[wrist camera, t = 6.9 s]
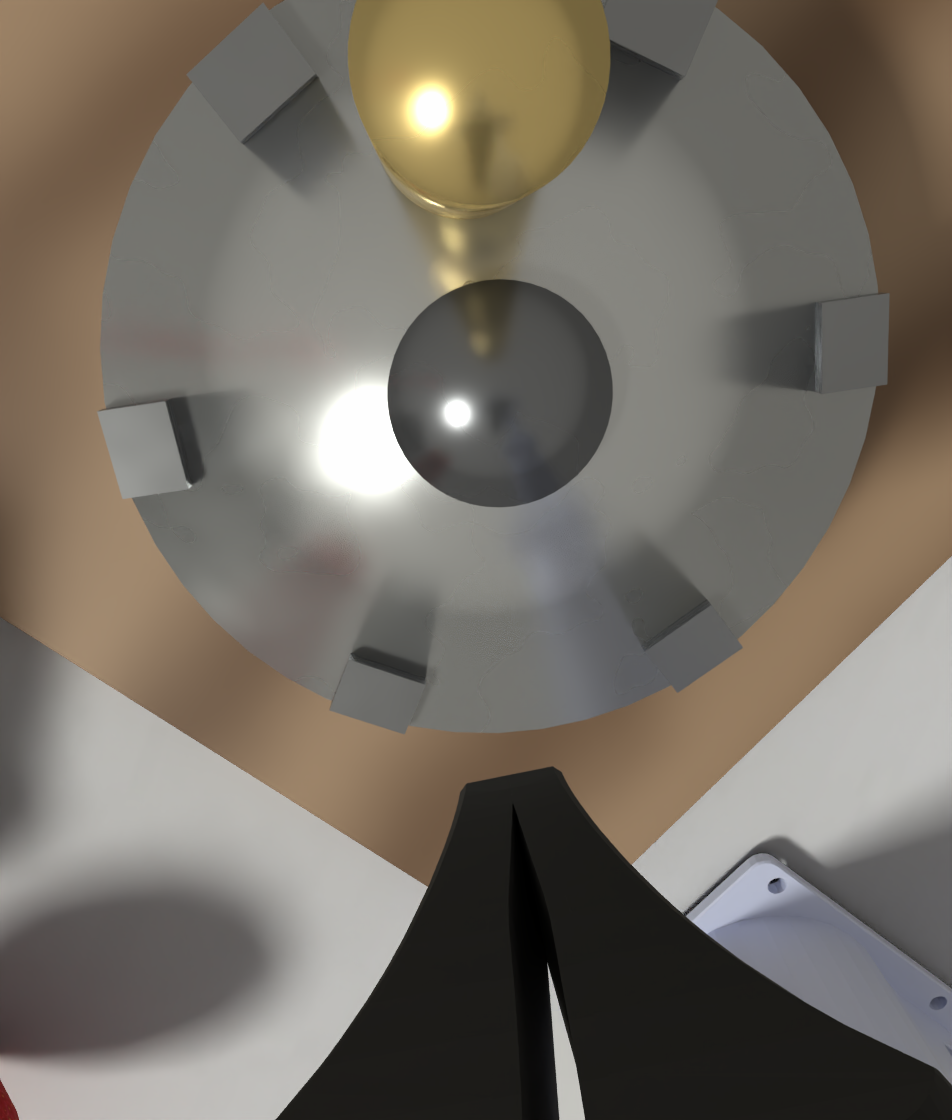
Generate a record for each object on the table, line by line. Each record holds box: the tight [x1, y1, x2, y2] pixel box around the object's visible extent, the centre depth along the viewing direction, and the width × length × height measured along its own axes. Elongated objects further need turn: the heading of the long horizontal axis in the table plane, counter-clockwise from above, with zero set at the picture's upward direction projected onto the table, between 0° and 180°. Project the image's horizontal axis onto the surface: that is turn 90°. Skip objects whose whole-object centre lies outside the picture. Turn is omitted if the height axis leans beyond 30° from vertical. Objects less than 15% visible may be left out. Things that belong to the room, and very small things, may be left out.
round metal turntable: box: [97, 0, 890, 735], centre depth 15 cm, size 14×14×7 cm
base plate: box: [0, 0, 952, 886], centre depth 18 cm, size 22×22×1 cm
